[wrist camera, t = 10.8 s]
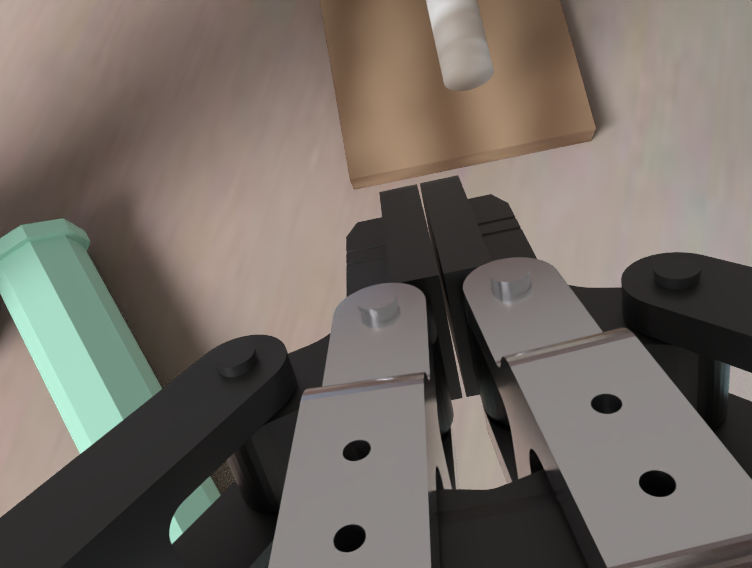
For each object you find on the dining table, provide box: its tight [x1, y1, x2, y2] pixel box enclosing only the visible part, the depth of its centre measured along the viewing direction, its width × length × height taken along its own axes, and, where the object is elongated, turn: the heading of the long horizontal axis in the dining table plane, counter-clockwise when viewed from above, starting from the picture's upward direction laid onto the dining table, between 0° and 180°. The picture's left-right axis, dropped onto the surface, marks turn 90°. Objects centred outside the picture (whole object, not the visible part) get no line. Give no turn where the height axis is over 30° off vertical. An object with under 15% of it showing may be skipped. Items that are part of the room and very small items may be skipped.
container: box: [0, 218, 221, 543], centre depth 36 cm, size 6×6×25 cm
